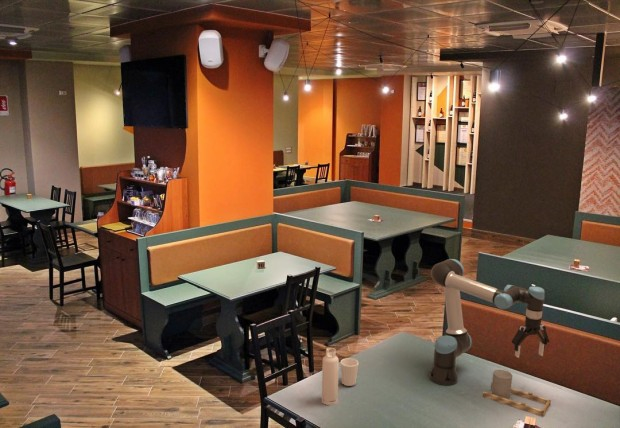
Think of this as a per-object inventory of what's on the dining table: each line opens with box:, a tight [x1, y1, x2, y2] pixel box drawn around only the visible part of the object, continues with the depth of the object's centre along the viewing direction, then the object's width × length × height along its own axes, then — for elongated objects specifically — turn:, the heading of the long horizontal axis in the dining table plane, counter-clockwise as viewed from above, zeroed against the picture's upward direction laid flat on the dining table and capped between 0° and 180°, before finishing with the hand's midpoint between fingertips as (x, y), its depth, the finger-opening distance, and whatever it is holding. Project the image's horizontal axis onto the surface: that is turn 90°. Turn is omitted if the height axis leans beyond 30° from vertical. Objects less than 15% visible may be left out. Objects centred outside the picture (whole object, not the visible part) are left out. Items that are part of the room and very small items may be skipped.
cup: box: [339, 357, 360, 388], centre depth 293 cm, size 10×10×13 cm
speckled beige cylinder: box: [491, 369, 513, 400], centre depth 283 cm, size 10×10×12 cm
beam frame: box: [482, 382, 552, 418], centre depth 279 cm, size 30×14×3 cm, turn 53°
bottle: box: [321, 347, 340, 406], centre depth 273 cm, size 8×8×28 cm
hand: (528, 355), depth 279 cm, fingers open, 13 cm apart
